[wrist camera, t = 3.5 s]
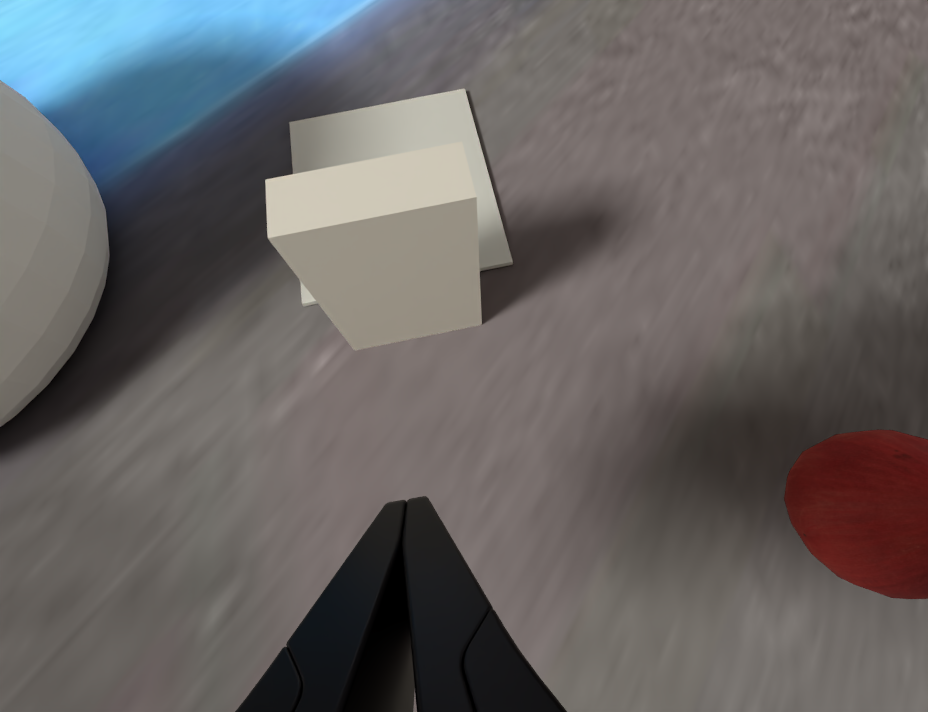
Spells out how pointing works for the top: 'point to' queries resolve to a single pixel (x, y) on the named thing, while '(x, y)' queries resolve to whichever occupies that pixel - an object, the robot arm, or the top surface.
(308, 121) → the mat
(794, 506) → the onion
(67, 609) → the top surface
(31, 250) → the pot
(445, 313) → the beige rectangular block
